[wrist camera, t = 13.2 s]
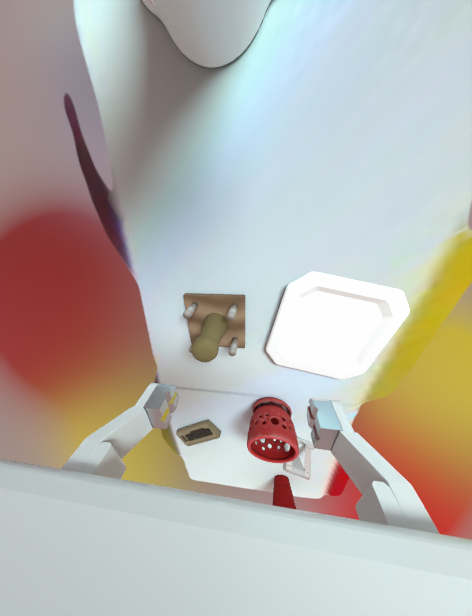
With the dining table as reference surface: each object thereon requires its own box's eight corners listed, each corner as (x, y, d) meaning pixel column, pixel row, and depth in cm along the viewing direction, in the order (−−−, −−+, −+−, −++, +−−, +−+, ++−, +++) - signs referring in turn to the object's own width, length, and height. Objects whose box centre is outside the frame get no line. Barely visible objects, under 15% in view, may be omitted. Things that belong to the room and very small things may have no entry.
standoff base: (185, 293, 40) (173, 304, 35) (245, 294, 39) (242, 306, 33) (193, 341, 46) (184, 357, 41) (245, 344, 45) (242, 362, 39)
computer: (208, 417, 62) (205, 427, 59) (221, 430, 64) (219, 440, 61) (177, 427, 67) (174, 436, 64) (191, 438, 70) (188, 448, 67)
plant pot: (259, 387, 51) (259, 430, 40) (299, 402, 52) (310, 449, 41) (243, 411, 57) (239, 454, 46) (279, 424, 58) (283, 470, 47)
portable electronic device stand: (312, 441, 60) (320, 473, 52) (299, 451, 63) (305, 481, 56) (290, 433, 59) (295, 463, 52) (279, 443, 63) (281, 472, 55)
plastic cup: (293, 485, 75) (299, 528, 65) (268, 481, 77) (270, 523, 66) (296, 473, 71) (303, 518, 60) (269, 470, 72) (271, 513, 61)
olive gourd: (207, 335, 43) (191, 367, 34) (201, 314, 41) (182, 342, 31) (230, 333, 42) (221, 366, 32) (225, 311, 40) (214, 340, 30)
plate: (353, 377, 45) (357, 384, 43) (261, 355, 46) (261, 361, 44) (415, 291, 34) (424, 295, 32) (291, 264, 35) (293, 267, 33)
